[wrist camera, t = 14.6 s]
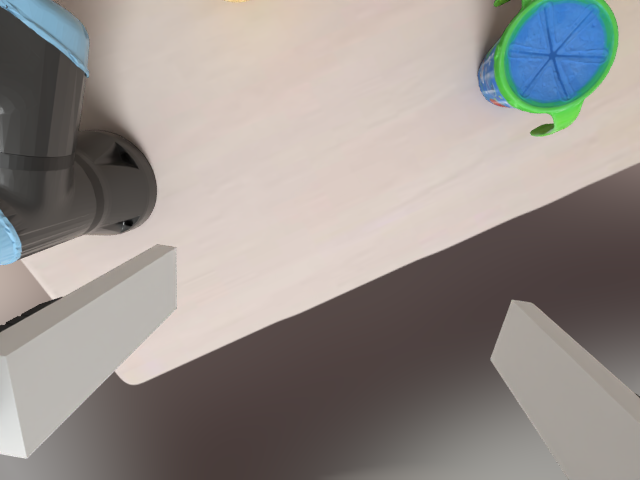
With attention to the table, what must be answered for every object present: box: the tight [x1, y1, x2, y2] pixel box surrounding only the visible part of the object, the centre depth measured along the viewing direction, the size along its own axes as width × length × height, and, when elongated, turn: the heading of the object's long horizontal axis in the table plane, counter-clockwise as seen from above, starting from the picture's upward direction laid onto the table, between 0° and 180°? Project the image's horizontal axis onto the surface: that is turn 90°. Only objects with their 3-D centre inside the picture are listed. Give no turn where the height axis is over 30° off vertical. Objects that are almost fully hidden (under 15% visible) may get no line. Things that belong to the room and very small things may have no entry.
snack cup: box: [478, 0, 618, 136], centre depth 35 cm, size 16×10×10 cm
